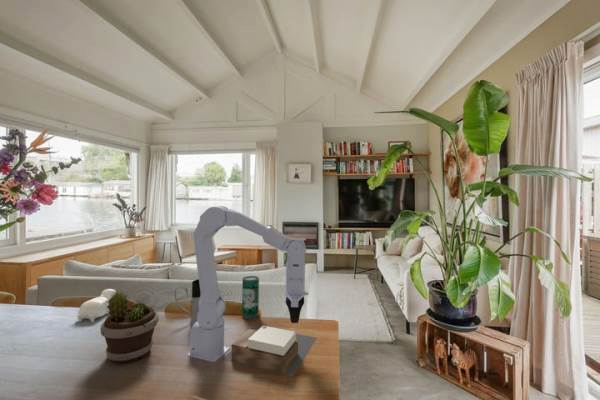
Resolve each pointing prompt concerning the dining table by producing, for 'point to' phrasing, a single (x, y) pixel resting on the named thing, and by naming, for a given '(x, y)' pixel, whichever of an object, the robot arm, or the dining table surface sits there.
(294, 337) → the lid
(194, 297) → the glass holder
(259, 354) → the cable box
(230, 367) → the dining table surface
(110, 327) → the flowerpot
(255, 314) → the can
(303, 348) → the desk mat
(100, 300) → the white figurine
